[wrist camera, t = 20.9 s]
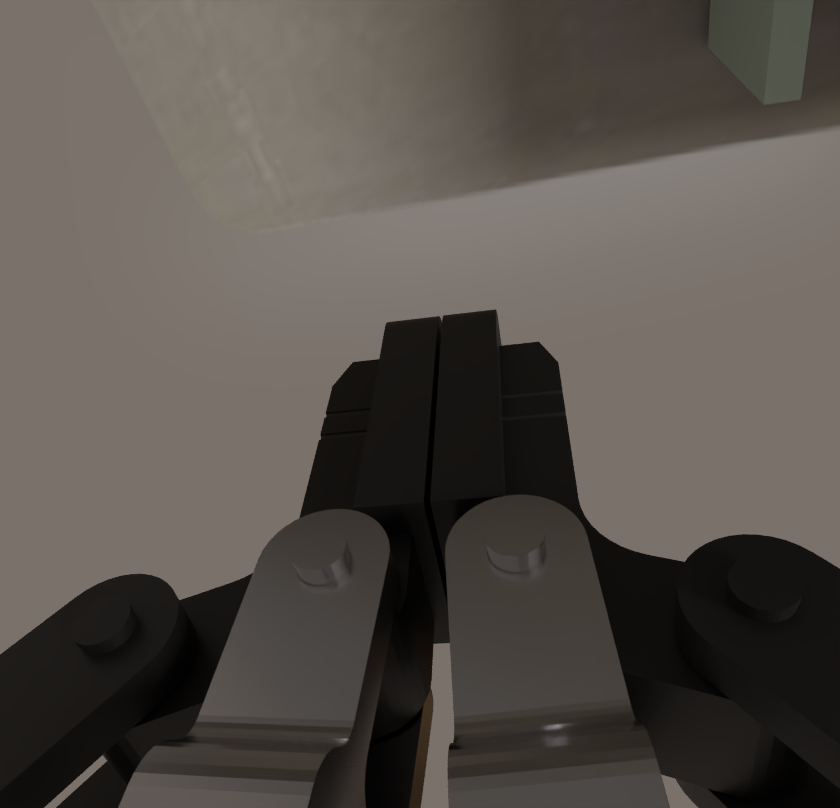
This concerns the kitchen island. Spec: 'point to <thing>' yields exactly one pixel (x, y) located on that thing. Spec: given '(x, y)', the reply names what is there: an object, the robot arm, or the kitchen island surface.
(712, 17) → the drawer
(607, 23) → the kitchen island surface
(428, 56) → the kitchen island surface
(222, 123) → the kitchen island surface
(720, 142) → the kitchen island surface
